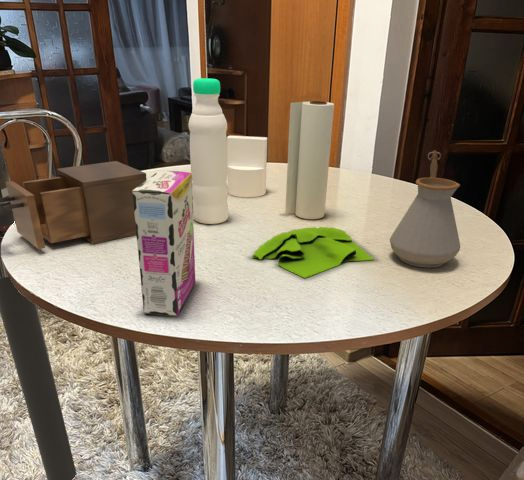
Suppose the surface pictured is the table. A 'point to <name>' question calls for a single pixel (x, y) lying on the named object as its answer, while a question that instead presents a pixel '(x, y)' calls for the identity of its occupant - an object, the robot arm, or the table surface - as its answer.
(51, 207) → the drawer
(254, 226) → the table surface
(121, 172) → the cabinet
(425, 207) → the coffee pot
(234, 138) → the cylinder with rectangular tab
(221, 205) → the water bottle
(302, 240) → the cloth
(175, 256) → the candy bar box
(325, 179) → the paper towel roll
